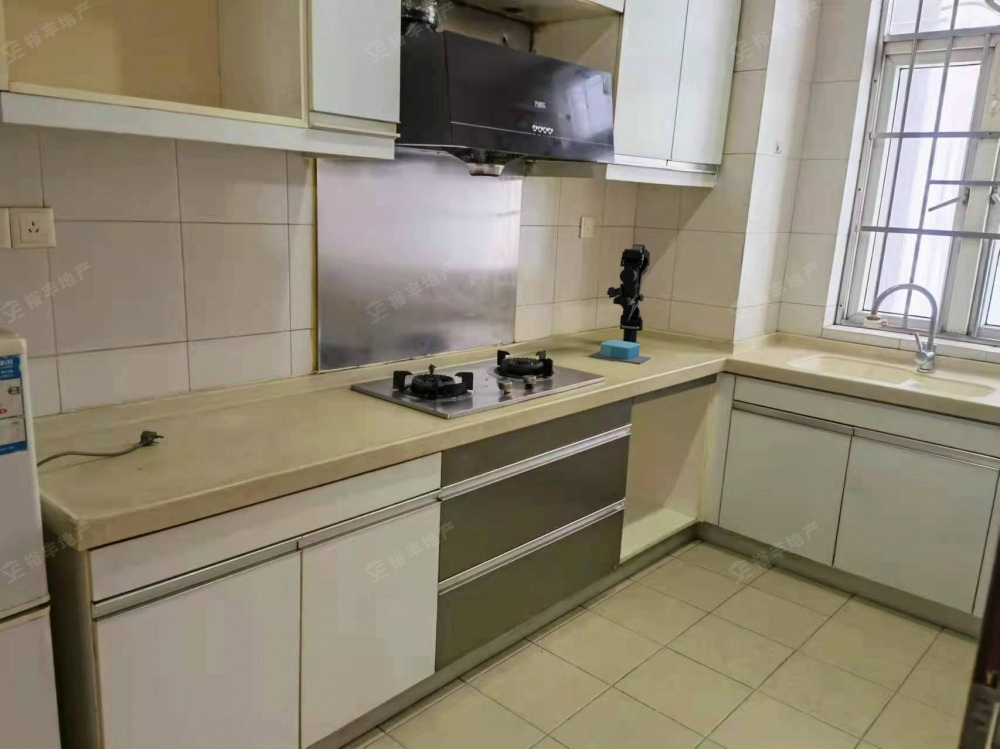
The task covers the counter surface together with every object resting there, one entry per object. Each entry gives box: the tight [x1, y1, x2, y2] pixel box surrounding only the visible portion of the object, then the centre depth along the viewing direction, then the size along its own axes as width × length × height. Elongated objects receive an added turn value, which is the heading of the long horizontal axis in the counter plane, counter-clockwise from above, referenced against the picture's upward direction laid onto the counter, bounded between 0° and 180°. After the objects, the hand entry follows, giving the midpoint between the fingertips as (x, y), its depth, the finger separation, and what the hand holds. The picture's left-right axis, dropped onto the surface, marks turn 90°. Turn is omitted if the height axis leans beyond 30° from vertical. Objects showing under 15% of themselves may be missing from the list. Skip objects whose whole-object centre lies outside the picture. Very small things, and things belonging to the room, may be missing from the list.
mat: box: [589, 350, 651, 365], centre depth 285 cm, size 12×20×1 cm, turn 60°
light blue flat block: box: [599, 339, 641, 359], centre depth 287 cm, size 12×4×12 cm
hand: (626, 320), depth 298 cm, fingers closed
